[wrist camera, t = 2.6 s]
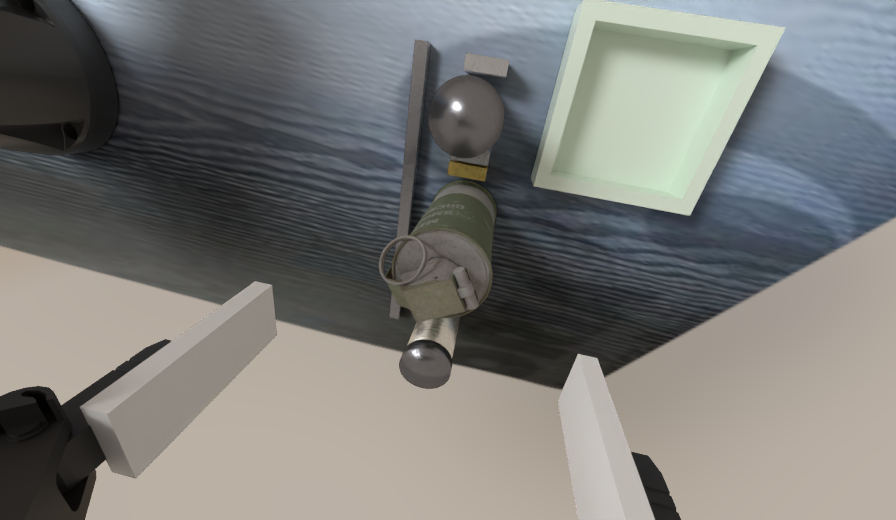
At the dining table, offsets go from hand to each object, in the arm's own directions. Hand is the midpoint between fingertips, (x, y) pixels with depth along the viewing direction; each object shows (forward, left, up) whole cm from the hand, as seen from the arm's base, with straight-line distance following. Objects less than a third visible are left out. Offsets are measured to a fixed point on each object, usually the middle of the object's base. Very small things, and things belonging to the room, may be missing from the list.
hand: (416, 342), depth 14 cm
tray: (+11, +10, -18) cm, 23 cm away
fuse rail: (-2, 0, -18) cm, 18 cm away
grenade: (0, 0, -18) cm, 18 cm away
